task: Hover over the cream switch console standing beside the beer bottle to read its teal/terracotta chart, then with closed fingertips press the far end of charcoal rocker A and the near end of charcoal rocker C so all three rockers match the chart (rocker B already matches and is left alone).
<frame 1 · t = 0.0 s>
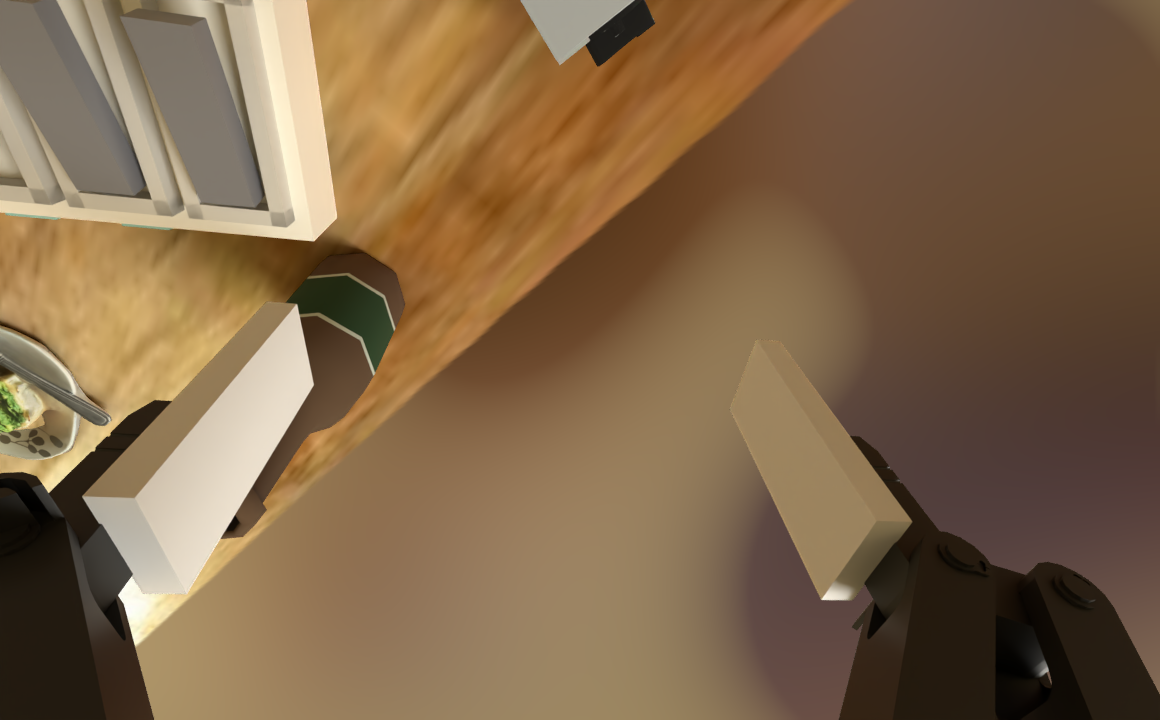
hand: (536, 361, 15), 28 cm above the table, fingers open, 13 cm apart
rocker b: (66, 102, 28), point 7 cm above the table, hinge at 12.0°
console: (149, 84, 34), on the table
rocker c: (203, 118, 29), point 7 cm above the table, hinge at 12.0°
beer bottle: (361, 289, 44), on the table
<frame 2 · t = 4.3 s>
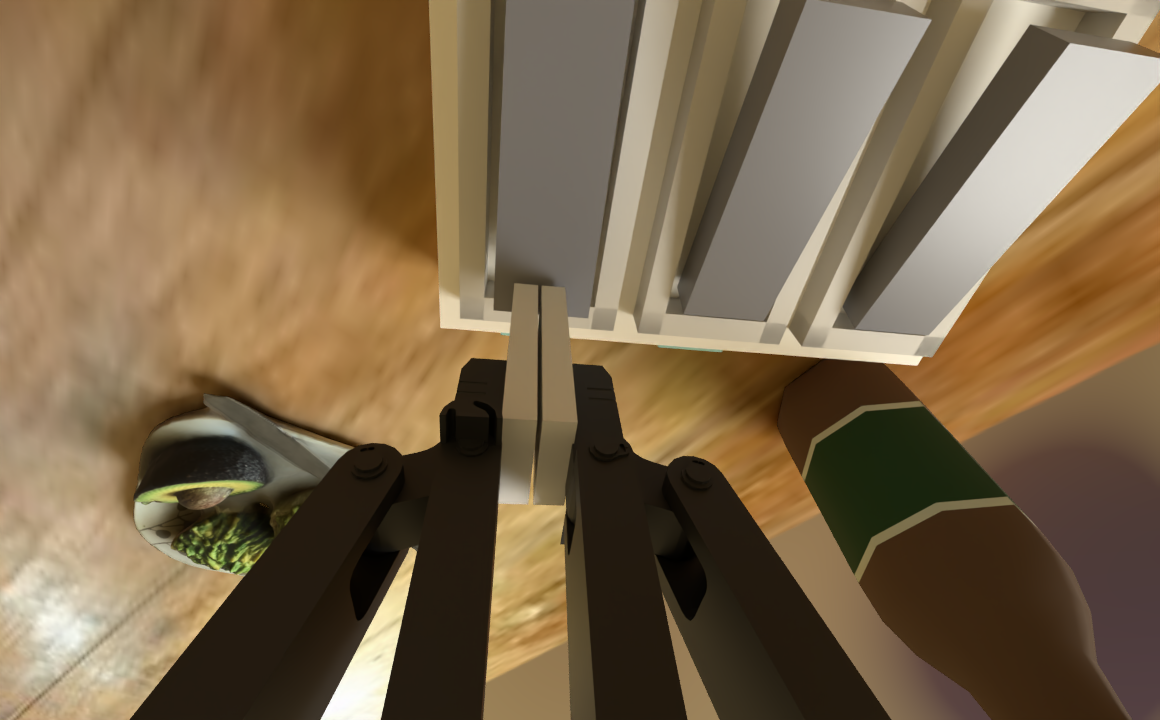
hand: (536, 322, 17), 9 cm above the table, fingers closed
rocker b: (772, 186, 16), point 7 cm above the table, hinge at 12.0°
console: (713, 131, 22), on the table
salad plate: (283, 490, 35), on the table
rocker c: (969, 210, 17), point 7 cm above the table, hinge at 12.0°
beer bottle: (832, 397, 32), on the table
rocker a: (555, 152, 15), point 7 cm above the table, hinge at -5.2°, touching gripper
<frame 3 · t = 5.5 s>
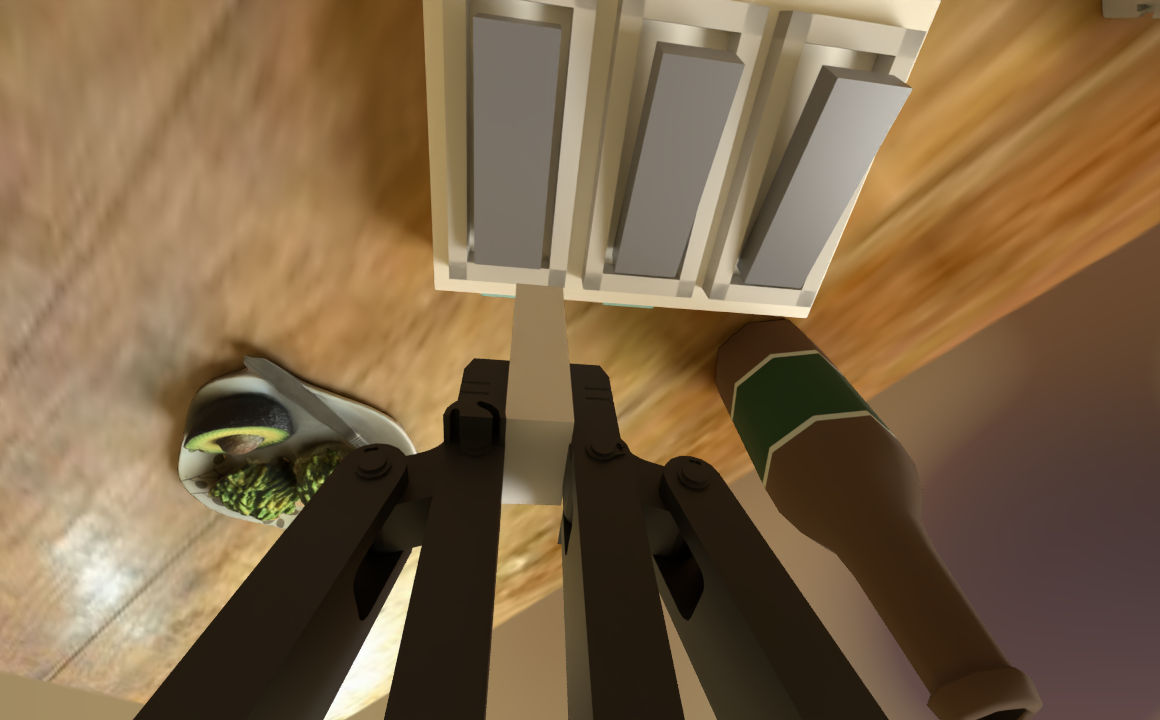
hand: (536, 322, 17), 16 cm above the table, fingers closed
rocker b: (667, 175, 23), point 7 cm above the table, hinge at 12.0°
console: (640, 140, 29), on the table
salad plate: (303, 447, 41), on the table
rocker c: (810, 191, 24), point 7 cm above the table, hinge at 12.0°
beer bottle: (759, 357, 39), on the table
rocker a: (512, 156, 22), point 7 cm above the table, hinge at 5.2°
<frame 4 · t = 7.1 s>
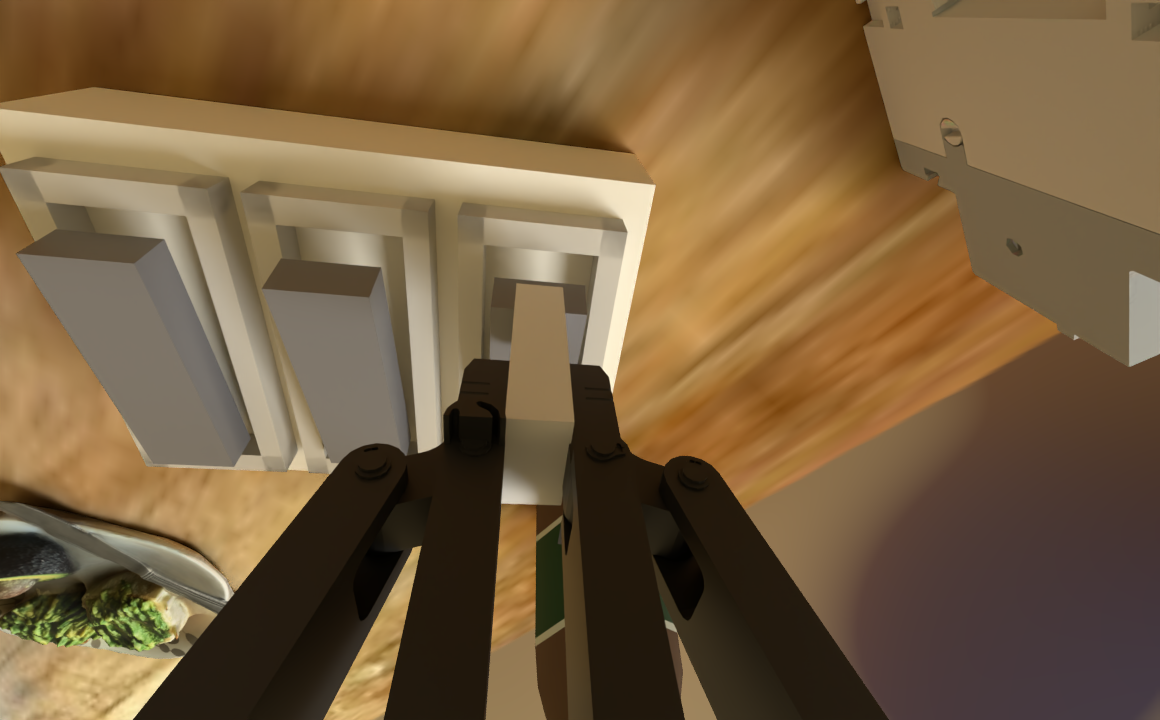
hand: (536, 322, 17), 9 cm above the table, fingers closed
circuit breaker: (978, 99, 23), on the table
rocker b: (352, 379, 20), point 7 cm above the table, hinge at 12.0°
console: (396, 291, 26), on the table
salad plate: (108, 570, 38), on the table
rocker c: (530, 390, 21), point 7 cm above the table, hinge at 11.8°, touching gripper
beer bottle: (590, 487, 35), on the table
rocker a: (158, 365, 19), point 7 cm above the table, hinge at 6.0°
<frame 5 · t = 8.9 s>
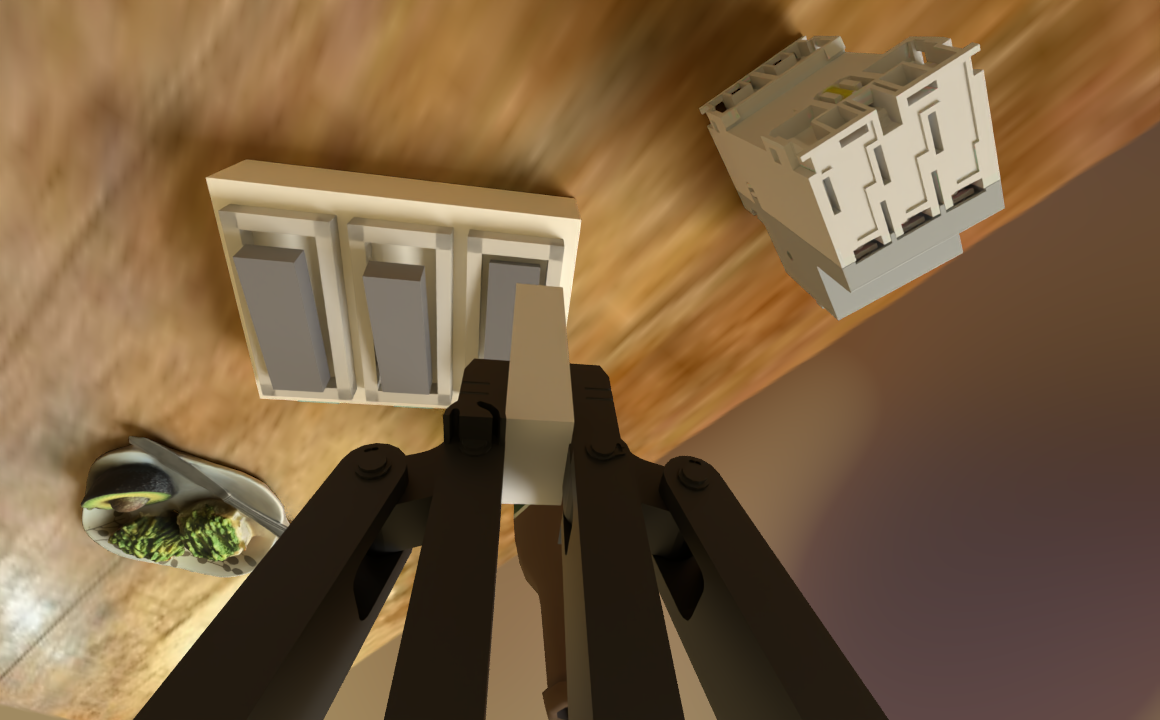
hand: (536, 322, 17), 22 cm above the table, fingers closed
circuit breaker: (785, 166, 37), on the table
rocker b: (402, 333, 33), point 7 cm above the table, hinge at 12.0°
console: (421, 285, 39), on the table
salad plate: (190, 501, 50), on the table
rocker c: (509, 337, 34), point 7 cm above the table, hinge at -14.3°
beer bottle: (555, 432, 49), on the table
rocker a: (287, 324, 32), point 7 cm above the table, hinge at 6.1°
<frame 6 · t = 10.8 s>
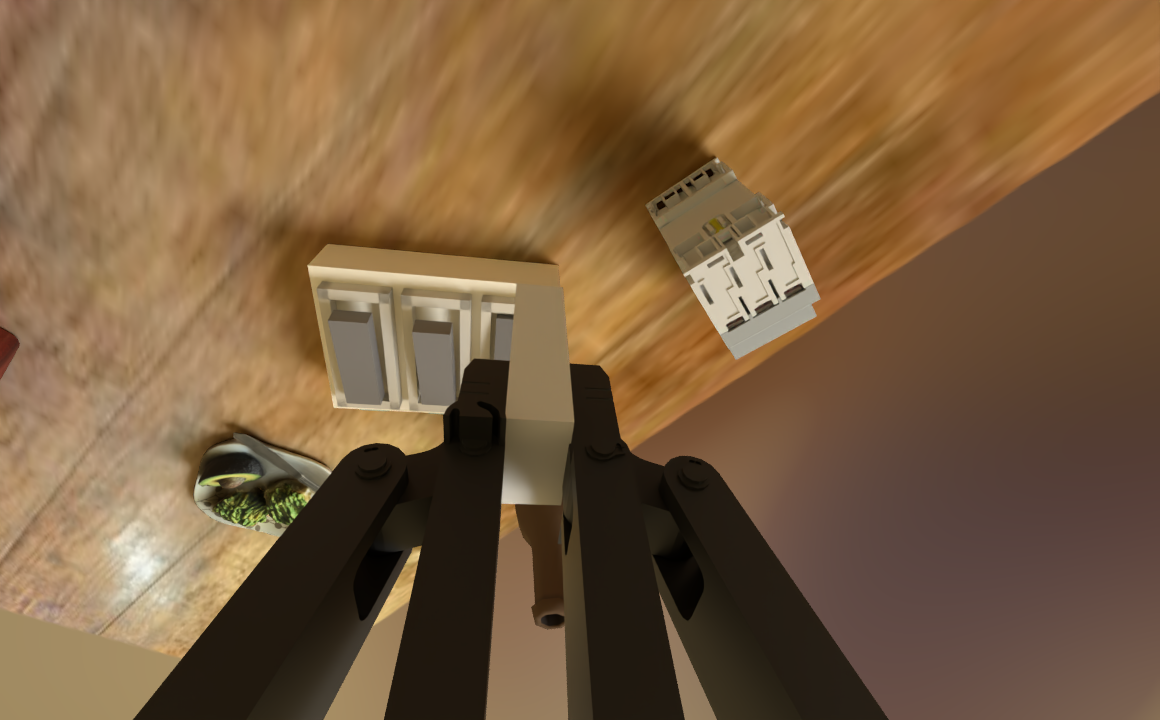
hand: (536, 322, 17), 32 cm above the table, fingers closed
circuit breaker: (711, 240, 50), on the table
rocker b: (436, 365, 48), point 7 cm above the table, hinge at 12.0°
console: (447, 325, 54), on the table
salad plate: (271, 481, 66), on the table
rocker c: (510, 367, 48), point 7 cm above the table, hinge at -15.0°
beer bottle: (548, 430, 63), on the table
rocker a: (358, 360, 47), point 7 cm above the table, hinge at 6.1°
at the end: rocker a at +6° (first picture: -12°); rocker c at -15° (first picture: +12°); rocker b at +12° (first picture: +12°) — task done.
